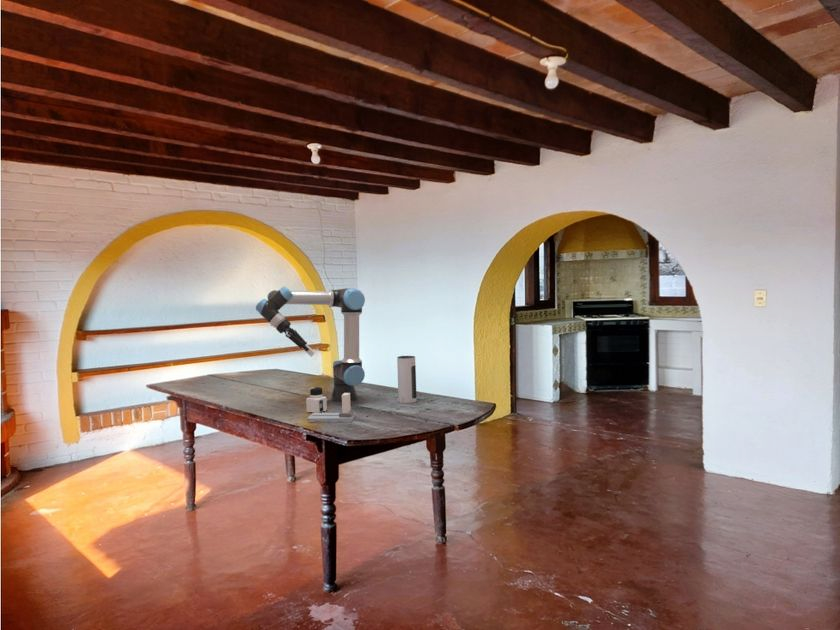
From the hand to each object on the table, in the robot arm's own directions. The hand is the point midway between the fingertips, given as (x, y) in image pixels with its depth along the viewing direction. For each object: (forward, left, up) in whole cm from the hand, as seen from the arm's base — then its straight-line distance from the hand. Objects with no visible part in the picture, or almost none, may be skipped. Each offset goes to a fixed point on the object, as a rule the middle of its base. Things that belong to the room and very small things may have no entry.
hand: (313, 354), depth 309 cm
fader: (+14, +20, -29) cm, 38 cm away
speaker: (-26, +46, -31) cm, 61 cm away
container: (-3, 0, -31) cm, 31 cm away
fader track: (+14, +12, -31) cm, 36 cm away
